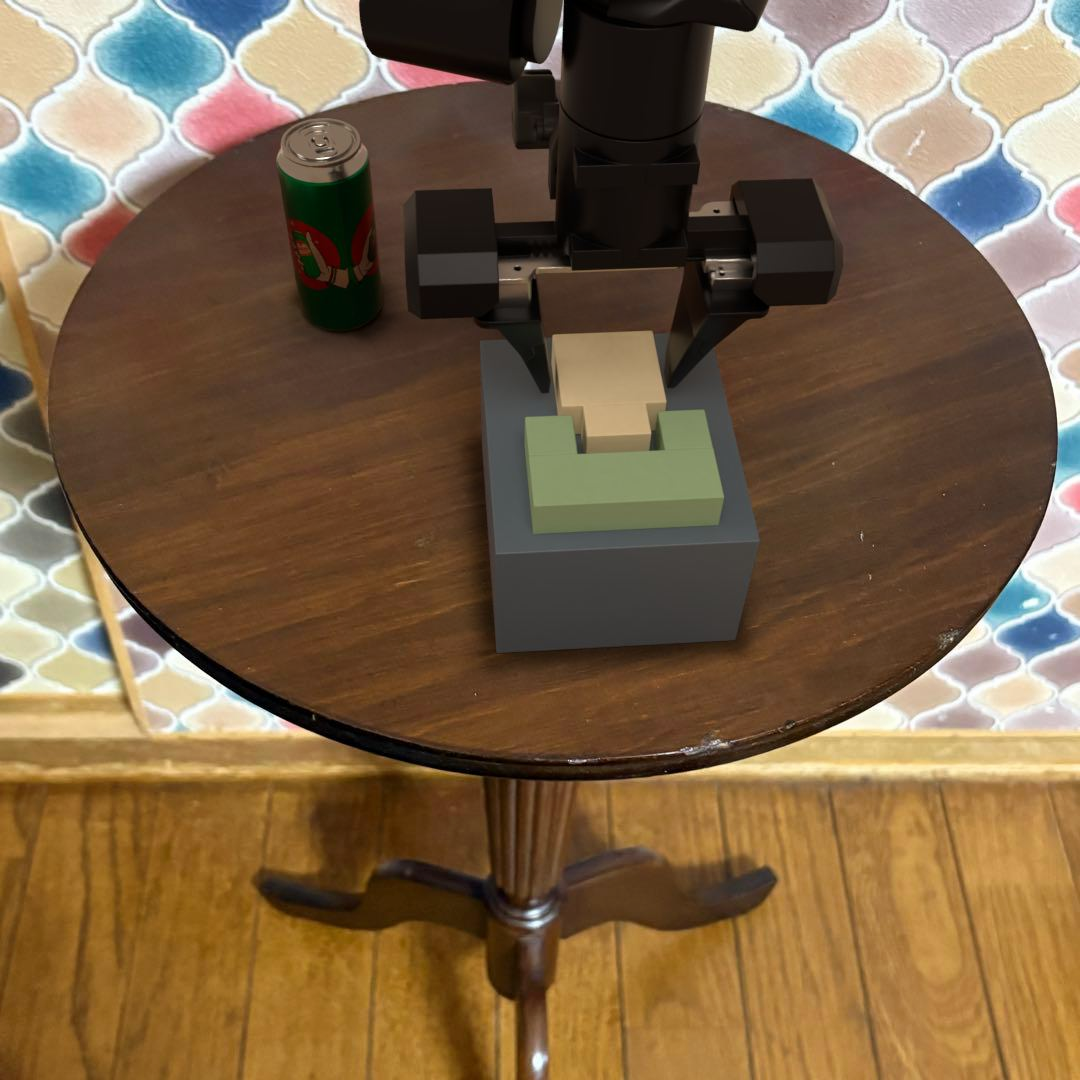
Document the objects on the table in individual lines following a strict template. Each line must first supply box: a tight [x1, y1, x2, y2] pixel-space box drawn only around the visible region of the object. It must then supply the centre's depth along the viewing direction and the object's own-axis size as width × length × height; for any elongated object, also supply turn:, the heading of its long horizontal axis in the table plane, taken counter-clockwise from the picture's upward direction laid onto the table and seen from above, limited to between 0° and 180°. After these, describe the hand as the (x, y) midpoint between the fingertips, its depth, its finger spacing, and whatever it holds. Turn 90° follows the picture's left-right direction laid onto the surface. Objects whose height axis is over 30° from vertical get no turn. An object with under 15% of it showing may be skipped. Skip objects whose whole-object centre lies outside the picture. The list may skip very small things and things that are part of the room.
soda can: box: [275, 117, 384, 333], centre depth 74 cm, size 5×5×12 cm
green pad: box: [524, 410, 724, 534], centre depth 59 cm, size 8×6×2 cm, turn 95°
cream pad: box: [551, 330, 667, 454], centre depth 62 cm, size 5×7×2 cm
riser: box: [479, 332, 761, 654], centre depth 65 cm, size 12×14×8 cm
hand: (607, 384), depth 63 cm, fingers open, 6 cm apart
